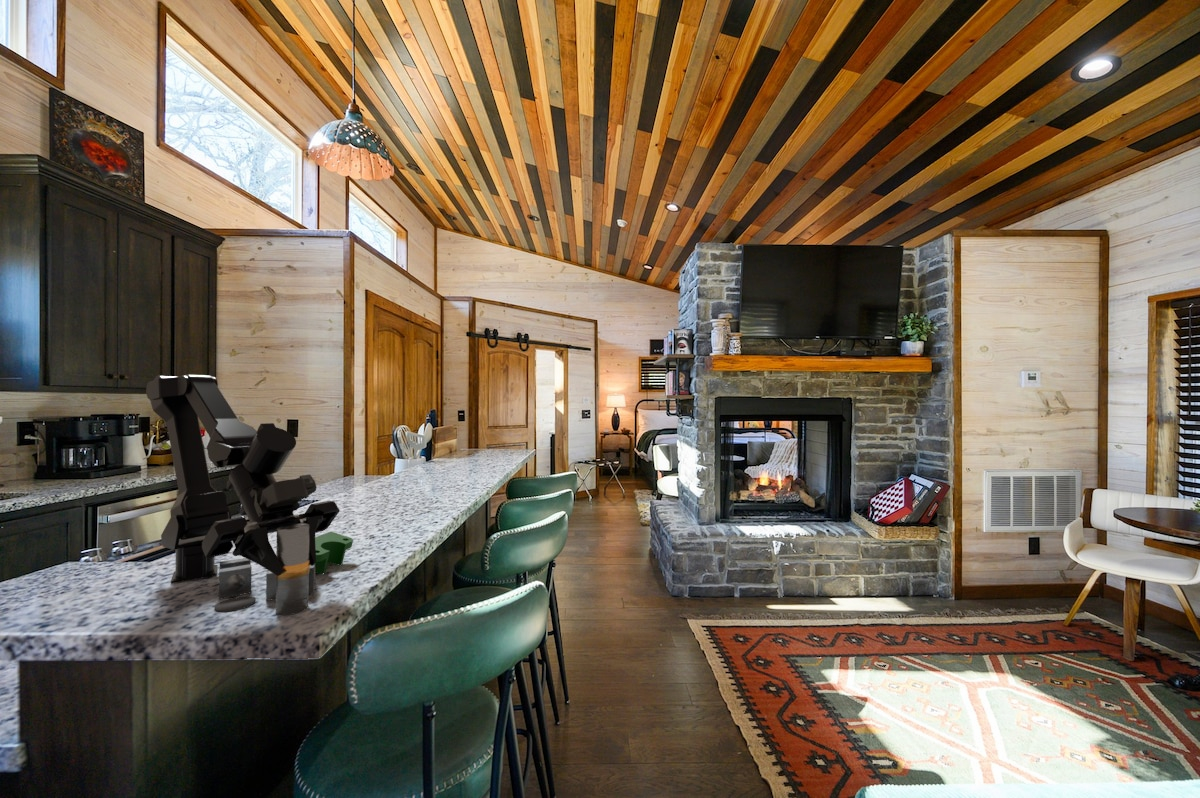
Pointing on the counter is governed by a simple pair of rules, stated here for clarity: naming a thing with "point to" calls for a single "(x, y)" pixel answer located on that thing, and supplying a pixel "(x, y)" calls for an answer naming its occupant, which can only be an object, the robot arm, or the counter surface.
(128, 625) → the counter surface
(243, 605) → the pad
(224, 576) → the grey metal block
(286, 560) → the sleeve
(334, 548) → the clamp
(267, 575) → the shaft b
